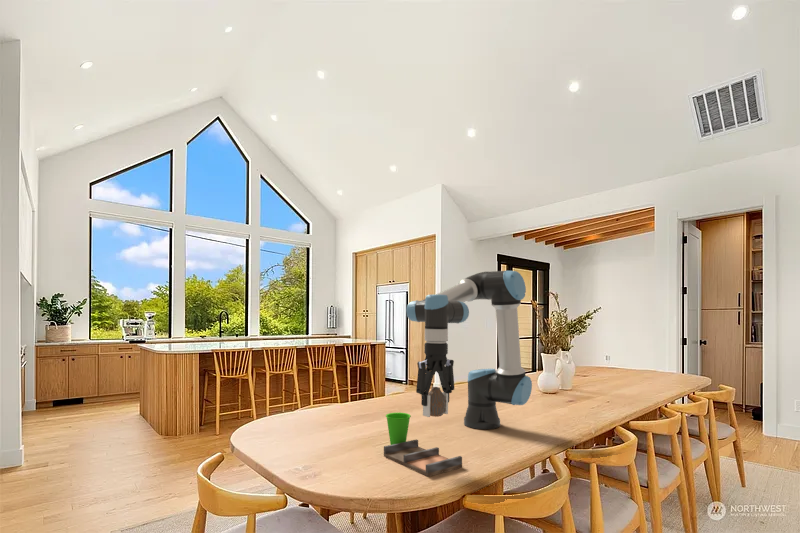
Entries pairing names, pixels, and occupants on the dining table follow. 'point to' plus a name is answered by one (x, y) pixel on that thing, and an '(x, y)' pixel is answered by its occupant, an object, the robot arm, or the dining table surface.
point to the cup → (398, 427)
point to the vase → (437, 402)
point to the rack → (421, 458)
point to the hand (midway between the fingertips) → (435, 414)
